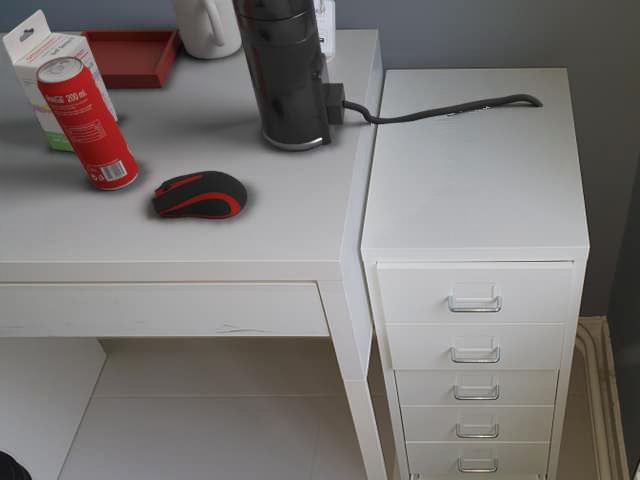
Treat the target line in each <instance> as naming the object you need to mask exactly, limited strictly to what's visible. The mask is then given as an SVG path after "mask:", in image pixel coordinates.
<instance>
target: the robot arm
mask: <svg viewBox="0 0 640 480" xmlns="http://www.w3.org/2000/svg"><path fill="white" fill-rule="evenodd" d="M232 4H233V8H234V12H235V17H236V21H237V25H238V28H239V32H240V36H241V45H242V47H243V52H244V56H245V60H246V65H247V68H248V69H247V70H248V73H249V78H250V81H251V85H252V89H253V93H254V97H255V101H256V106H257V110H258V114H259V118H260V119H259V120H260V123H261V124H260V125H261V128H262V129H261V130H262V134H263V137H264V139H265V141H266V142H267V143H268V144H269V145H270V146H272V147H274V148H276V149H279V150H284V151H290V152H291V151H294V152H295V151H296V152H297V151H305V150H311V149H314V148H316V147H319V146H321V145H325V144H332V142H333V135H334V132H335V126H339V125H341V126H343V125H344V120H345V119H344V118H345V112H346V110H351V111H354V112H358V113H360V114H361V115H362V116H363V119H364V120H365V121H366V122H367V123H370V124H374V125H388V124H391V125H392V124H399V123H400V124H401V123H410V122H416V121H419V120H424V119H428V118H434V117H441V116H447V115H452V114H457V113H462V112H466V111H471V110H475V109H481V108H487V107H494V106H495V107H496V106H503V105H508V104H513V103H518V102H525V103H529V104H531V105H533V106H534V107H535V108H542V107H544V104H543V103H542V102H541V100H540V99H539V98H537V97H535V96H533V95H531V94H527V93H515V94H511V95H507V96H502V97H493V98H486V99H480V100H474V101H469V102H464V103H460V104H456V105H451V106H449V105H448V106H445V107H438V108H432V109H426V110H422V111H418V112H414V113H410V114H406V115H401V116H396V117H379V116H374V115H372V114H371V113H370V110H369V109H368V108H366V107H365V106H364V105H362V104H359V103H356V102H353V101H348V100H346V93H345V85H344V83H343V82H330V77H329V76H330V75H329V70H328V63H327V57H326V54H325V53H324V52H323V51H322V45H321V39H320V32H319V27H318V26H319V25H318V20H317V13H316V7H315V1H314V0H232Z"/></svg>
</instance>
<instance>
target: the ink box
mask: <svg viewBox="0 0 640 480" xmlns="http://www.w3.org/2000/svg"><path fill="white" fill-rule="evenodd" d="M31 29H33V33H32V34H30V35H29V36H27V38H26V39H24V40H22V41H21V37H22V36H24V34H25V31H30V30H31ZM2 43H3V46H4V49H5V51H6V52H7V55H8V58H9V59H10V62H11V64H12V65H11V66H12V68H13V70H14V72H15V74H16V77H17V78H18V80H19V83H20V85H21V86H22V89H23V91H24V93H25V95H26V96H27V99H28V101H29V103H30V105H31V107H32V109H33V111H34V113H35V115H36V117H37V119H38V121H39V124H40V126H41V128H42V129H43V132H44V133H45V136H46V138H47V140H48V142H49V144H50V146H51V148H52V149H53V150H59V151H66V152H73V153H75V151H74V150H73V148H72V146H71V144H70V143H69V141H68V139H67V137H66V136H65V134H64V132H63V130H62V129H61V127H60V125H59V123H58V122H57V120H56V118H55V116H54V115H53V113H52V111H51V109H50V108H49V106H48V104H47V102H46V101H45V99H44V97H43V96H42V94H41V92H40V90H39V89H38V86H37V79H36V76H35V72H36V70H37V68H38V67H39V66H40V65H42V64H43V63H45V62H47V61H49V60H51V59H54V58H58V57H65V56H70V57H76V58H78V59H80V60H81V61H82V62H83V64H84V65H85V66H86V67H87V68H89V70H90V71H91V73H92V75H93V77H94V79H95V81H96V83H97V85H98V87H99V89H100V91H101V93H102V95H103V97H104V99H105V101H106V103H107V105H108V107H109V109H110V111H111V113H112V115H113V117H114V119H115V121H116V122H118V120H119V118H118V117H117V113H116V110H115V108H114V105H113V103H112V101H111V98H110V95H109V93H108V91H107V88H105V85H104V83H103V80H102V78H101V75H100V73H99V70H98V68H97V65H96V62H95V60H94V57H93V55H92V52H91V50H90V47H89V45H88V42H87V40H86V37H83V36H80V35H75V34H67V33H59V32H52V31H51V30H50V27H49V25H48V21H47V18H46V16H45V14H44V12H43V10H42V9H38V10H36V11H35V12H34V13H33V14H31V15H30V16H29V17H27V18H26V19H25V20H24V21H22V22H20V23H19V24H18V25H17V26H16V27H14V28H13V29H12V30H11V31H10V32H8V33H7V34H6V35H4V36H3V37H2Z"/></svg>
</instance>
